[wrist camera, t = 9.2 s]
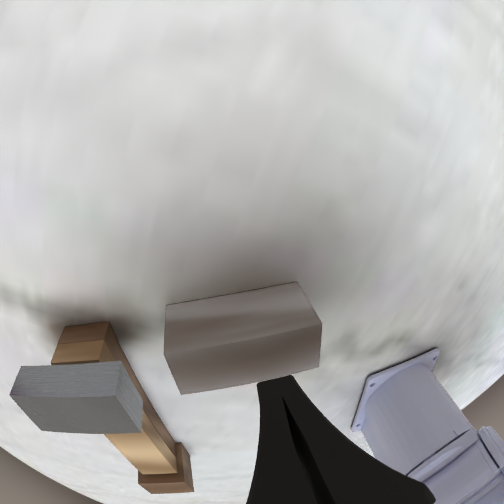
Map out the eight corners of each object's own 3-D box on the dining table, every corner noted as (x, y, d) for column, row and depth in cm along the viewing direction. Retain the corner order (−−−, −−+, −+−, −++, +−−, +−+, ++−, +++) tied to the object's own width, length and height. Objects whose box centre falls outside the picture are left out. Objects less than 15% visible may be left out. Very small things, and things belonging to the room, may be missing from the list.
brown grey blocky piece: (294, 436, 24) (307, 471, 21) (150, 458, 22) (151, 493, 19) (297, 281, 16) (325, 328, 12) (54, 320, 14) (33, 370, 11)
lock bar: (142, 400, 13) (141, 432, 11) (49, 402, 12) (41, 430, 10) (120, 360, 12) (115, 395, 10) (21, 366, 11) (9, 395, 9)
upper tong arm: (176, 458, 20) (177, 472, 18) (142, 459, 19) (142, 474, 18) (104, 339, 14) (98, 359, 12) (58, 343, 13) (50, 362, 12)
